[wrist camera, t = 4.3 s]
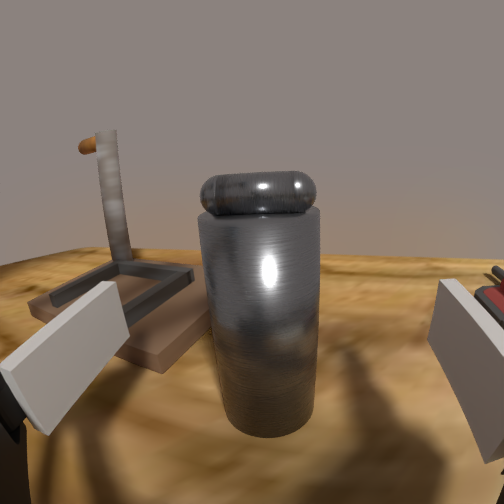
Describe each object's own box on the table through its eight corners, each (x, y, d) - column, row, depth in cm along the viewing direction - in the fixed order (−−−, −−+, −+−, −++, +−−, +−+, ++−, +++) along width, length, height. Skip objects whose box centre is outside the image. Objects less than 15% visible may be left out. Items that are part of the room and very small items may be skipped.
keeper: (24, 311, 25) (-8, 153, 20) (111, 266, 38) (93, 139, 32) (162, 374, 18) (116, 85, 12) (252, 285, 30) (239, 106, 25)
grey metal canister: (216, 433, 13) (174, 183, 9) (234, 375, 17) (212, 172, 14) (313, 438, 12) (323, 174, 9) (313, 377, 17) (315, 167, 13)
